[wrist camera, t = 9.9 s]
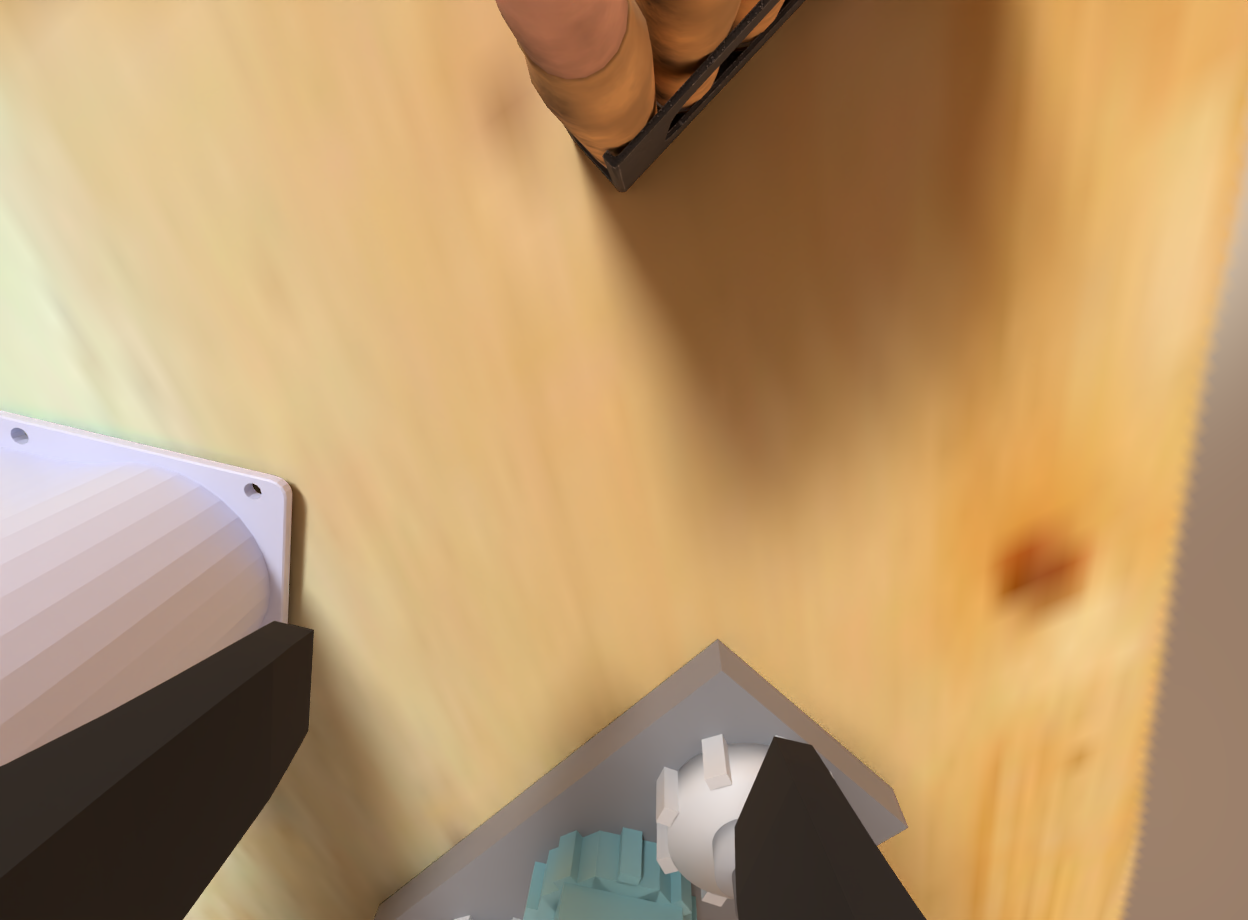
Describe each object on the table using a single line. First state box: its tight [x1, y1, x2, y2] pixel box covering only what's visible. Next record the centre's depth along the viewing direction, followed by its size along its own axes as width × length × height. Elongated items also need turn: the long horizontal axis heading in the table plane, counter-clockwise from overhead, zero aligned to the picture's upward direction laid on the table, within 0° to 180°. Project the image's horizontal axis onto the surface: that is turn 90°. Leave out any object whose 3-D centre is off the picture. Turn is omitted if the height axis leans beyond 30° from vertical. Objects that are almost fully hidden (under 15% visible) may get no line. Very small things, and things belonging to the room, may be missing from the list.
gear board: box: [374, 639, 908, 920], centre depth 21 cm, size 20×9×5 cm, turn 137°
